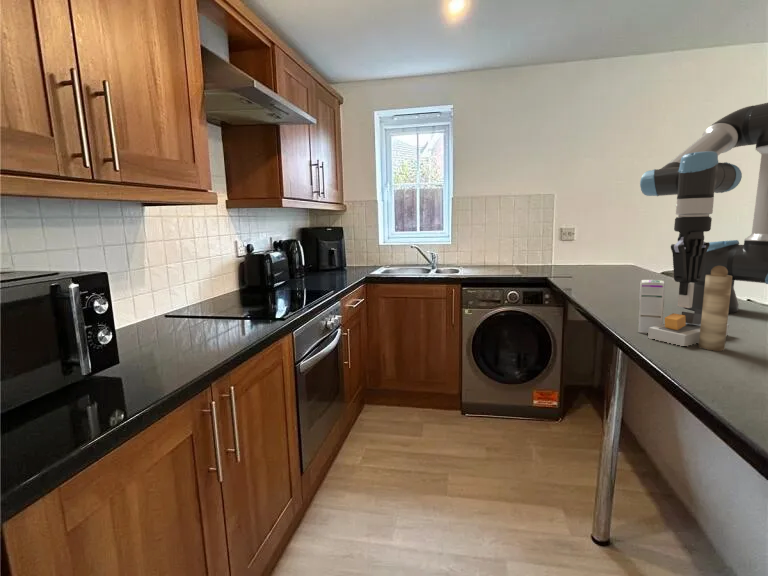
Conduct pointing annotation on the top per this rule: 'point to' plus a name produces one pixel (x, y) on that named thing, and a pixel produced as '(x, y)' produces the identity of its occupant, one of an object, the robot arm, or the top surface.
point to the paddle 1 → (675, 321)
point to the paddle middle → (692, 318)
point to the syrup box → (650, 304)
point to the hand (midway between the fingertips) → (684, 306)
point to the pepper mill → (715, 309)
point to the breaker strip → (677, 334)
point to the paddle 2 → (698, 311)
